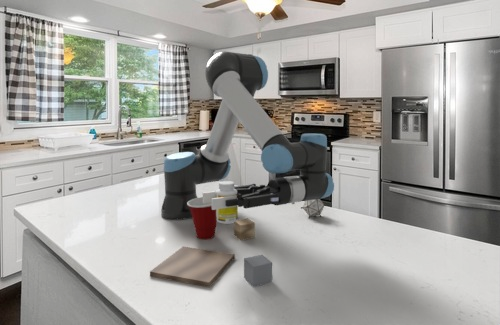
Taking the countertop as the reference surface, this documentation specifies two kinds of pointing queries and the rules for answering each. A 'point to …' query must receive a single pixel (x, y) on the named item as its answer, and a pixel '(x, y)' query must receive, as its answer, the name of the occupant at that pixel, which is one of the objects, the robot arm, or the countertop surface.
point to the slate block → (257, 270)
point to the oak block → (244, 229)
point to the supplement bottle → (226, 213)
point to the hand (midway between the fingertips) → (207, 201)
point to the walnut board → (193, 266)
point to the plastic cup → (203, 218)
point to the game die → (313, 207)
